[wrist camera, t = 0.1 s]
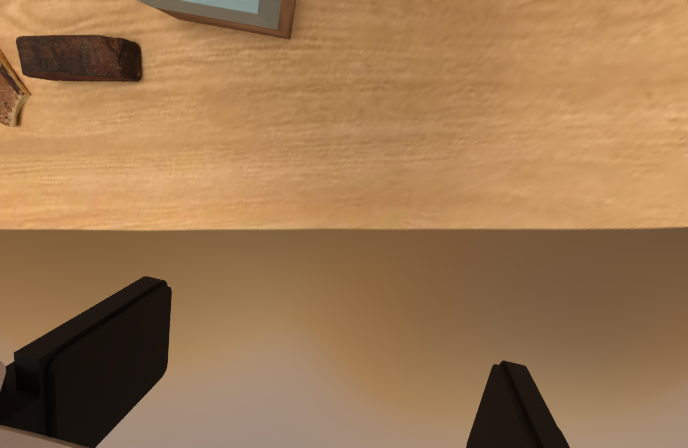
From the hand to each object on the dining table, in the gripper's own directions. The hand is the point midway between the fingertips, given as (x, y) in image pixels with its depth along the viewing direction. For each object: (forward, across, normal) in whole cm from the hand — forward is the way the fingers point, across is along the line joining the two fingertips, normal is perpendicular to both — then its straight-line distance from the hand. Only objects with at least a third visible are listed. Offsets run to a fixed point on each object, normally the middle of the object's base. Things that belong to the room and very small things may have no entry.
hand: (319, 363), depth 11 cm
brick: (+32, +33, -8) cm, 46 cm away
